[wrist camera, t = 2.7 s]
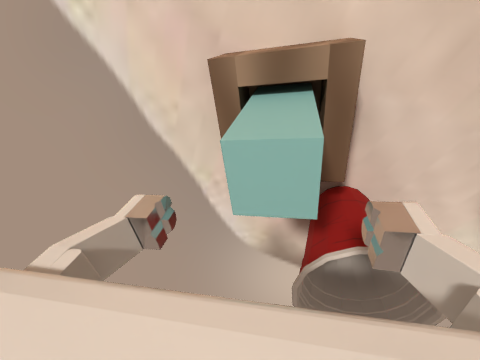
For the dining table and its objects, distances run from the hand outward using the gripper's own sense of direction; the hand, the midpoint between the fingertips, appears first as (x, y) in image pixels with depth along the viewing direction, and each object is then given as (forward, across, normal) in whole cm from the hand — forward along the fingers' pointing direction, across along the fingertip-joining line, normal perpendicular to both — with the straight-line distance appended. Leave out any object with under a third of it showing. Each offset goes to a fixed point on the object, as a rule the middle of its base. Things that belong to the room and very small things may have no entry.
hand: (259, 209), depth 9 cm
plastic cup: (+15, -7, +11) cm, 20 cm away
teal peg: (+14, 0, 0) cm, 14 cm away
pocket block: (+15, -1, 0) cm, 15 cm away
